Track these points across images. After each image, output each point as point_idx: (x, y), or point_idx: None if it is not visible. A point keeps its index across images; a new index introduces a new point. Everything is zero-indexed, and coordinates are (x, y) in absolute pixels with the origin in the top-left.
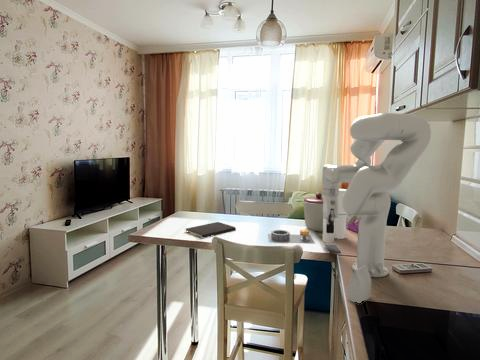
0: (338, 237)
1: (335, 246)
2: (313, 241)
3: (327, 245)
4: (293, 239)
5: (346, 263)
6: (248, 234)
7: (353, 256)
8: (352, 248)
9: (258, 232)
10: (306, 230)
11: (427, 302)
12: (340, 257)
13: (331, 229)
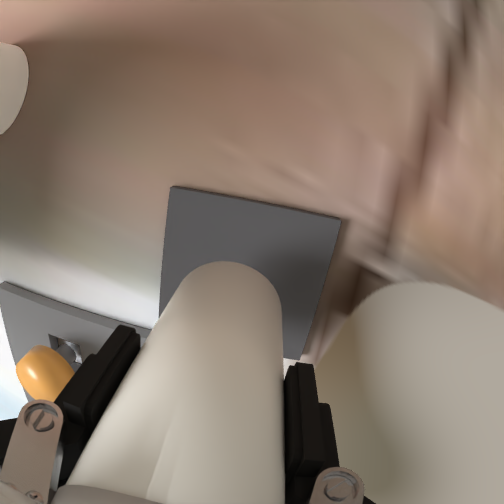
0: (17, 99)
1: (211, 206)
2: (110, 331)
3: (181, 262)
4: None
5: (497, 276)
6: None
7: (426, 162)
8: (246, 63)
9: None
10: (26, 370)
11: None
12: (421, 266)
13: (326, 429)
